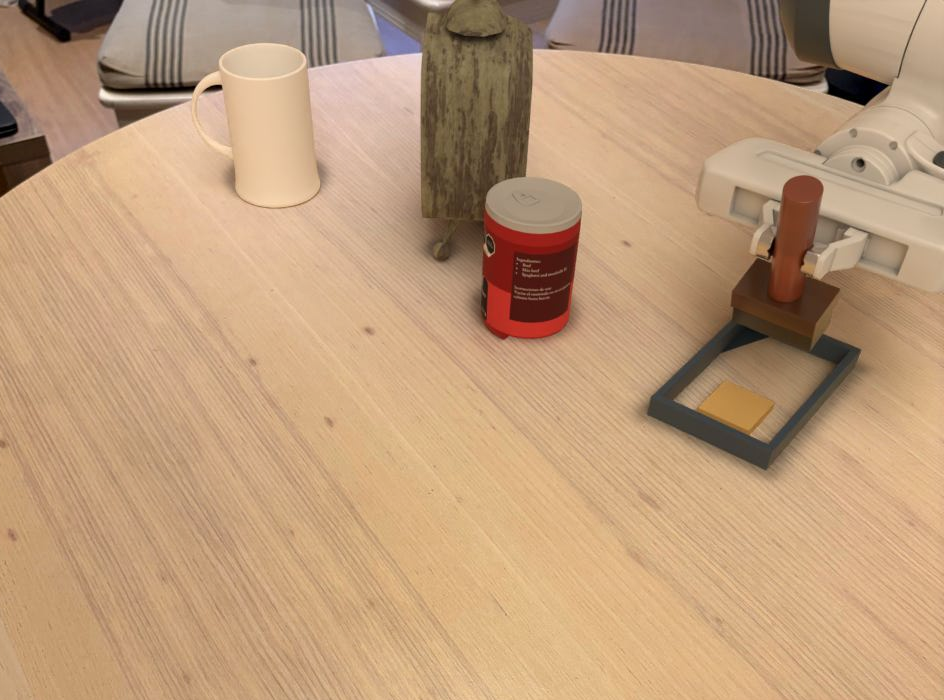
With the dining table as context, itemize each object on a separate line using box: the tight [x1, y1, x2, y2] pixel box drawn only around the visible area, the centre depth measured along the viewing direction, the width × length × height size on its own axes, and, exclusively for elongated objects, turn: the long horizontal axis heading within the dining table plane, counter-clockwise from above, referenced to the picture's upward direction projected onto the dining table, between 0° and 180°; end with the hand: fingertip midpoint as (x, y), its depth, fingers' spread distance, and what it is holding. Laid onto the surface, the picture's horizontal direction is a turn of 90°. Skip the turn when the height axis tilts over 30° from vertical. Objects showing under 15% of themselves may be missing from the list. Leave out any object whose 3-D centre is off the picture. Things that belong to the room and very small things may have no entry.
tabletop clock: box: [420, 0, 534, 261], centre depth 89 cm, size 14×9×25 cm, turn 178°
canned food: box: [480, 176, 583, 340], centre depth 86 cm, size 8×8×11 cm
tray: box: [646, 319, 862, 471], centre depth 82 cm, size 16×10×3 cm, turn 143°
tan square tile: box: [696, 379, 776, 436], centre depth 81 cm, size 4×4×1 cm
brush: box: [729, 175, 841, 352], centre depth 73 cm, size 4×7×12 cm, turn 53°
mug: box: [190, 42, 321, 209], centre depth 99 cm, size 12×8×12 cm
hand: (786, 257), depth 71 cm, fingers closed on brush, 2 cm apart
